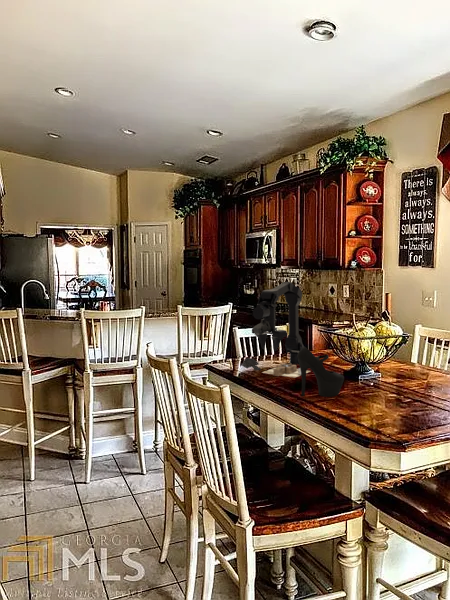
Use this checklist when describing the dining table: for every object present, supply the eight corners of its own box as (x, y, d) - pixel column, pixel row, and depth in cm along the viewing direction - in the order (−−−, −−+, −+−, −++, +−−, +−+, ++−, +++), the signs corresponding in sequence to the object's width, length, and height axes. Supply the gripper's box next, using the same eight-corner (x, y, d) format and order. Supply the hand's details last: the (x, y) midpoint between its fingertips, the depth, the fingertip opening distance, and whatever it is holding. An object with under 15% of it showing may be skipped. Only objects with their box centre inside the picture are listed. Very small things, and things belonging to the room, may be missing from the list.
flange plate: (283, 369, 245) (283, 362, 245) (296, 371, 241) (296, 364, 240) (269, 374, 234) (269, 367, 234) (282, 376, 230) (282, 369, 230)
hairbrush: (250, 369, 240) (241, 356, 265) (250, 376, 241) (240, 363, 265) (267, 368, 241) (256, 356, 266) (267, 376, 242) (256, 362, 266)
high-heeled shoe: (346, 397, 200) (346, 347, 199) (299, 398, 199) (299, 348, 197) (340, 391, 208) (340, 344, 207) (294, 392, 207) (295, 344, 205)
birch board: (278, 368, 252) (278, 366, 252) (311, 373, 241) (311, 371, 241) (261, 374, 239) (261, 372, 239) (295, 380, 228) (295, 377, 228)
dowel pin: (298, 374, 235) (299, 367, 234) (302, 374, 234) (302, 368, 233) (297, 375, 233) (297, 368, 233) (300, 375, 232) (300, 368, 232)
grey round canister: (285, 373, 242) (285, 364, 242) (290, 374, 240) (290, 365, 240) (282, 374, 240) (282, 365, 239) (287, 375, 238) (287, 366, 238)
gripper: (243, 316, 239) (243, 349, 240) (270, 320, 224) (270, 355, 226) (260, 315, 246) (260, 346, 247) (288, 318, 231) (287, 352, 233)
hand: (269, 350), depth 238 cm, fingers open, 8 cm apart
